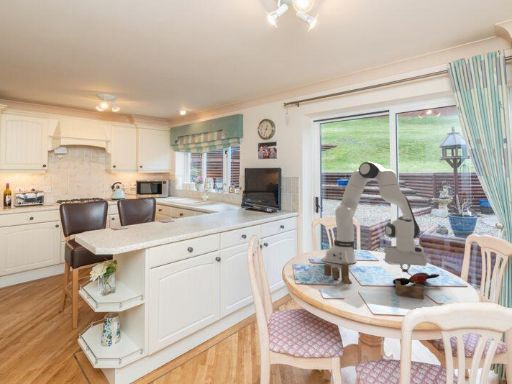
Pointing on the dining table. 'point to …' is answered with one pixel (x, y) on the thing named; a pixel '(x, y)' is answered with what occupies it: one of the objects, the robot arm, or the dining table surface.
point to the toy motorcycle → (415, 278)
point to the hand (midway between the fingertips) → (405, 272)
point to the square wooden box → (409, 290)
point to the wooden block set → (338, 272)
